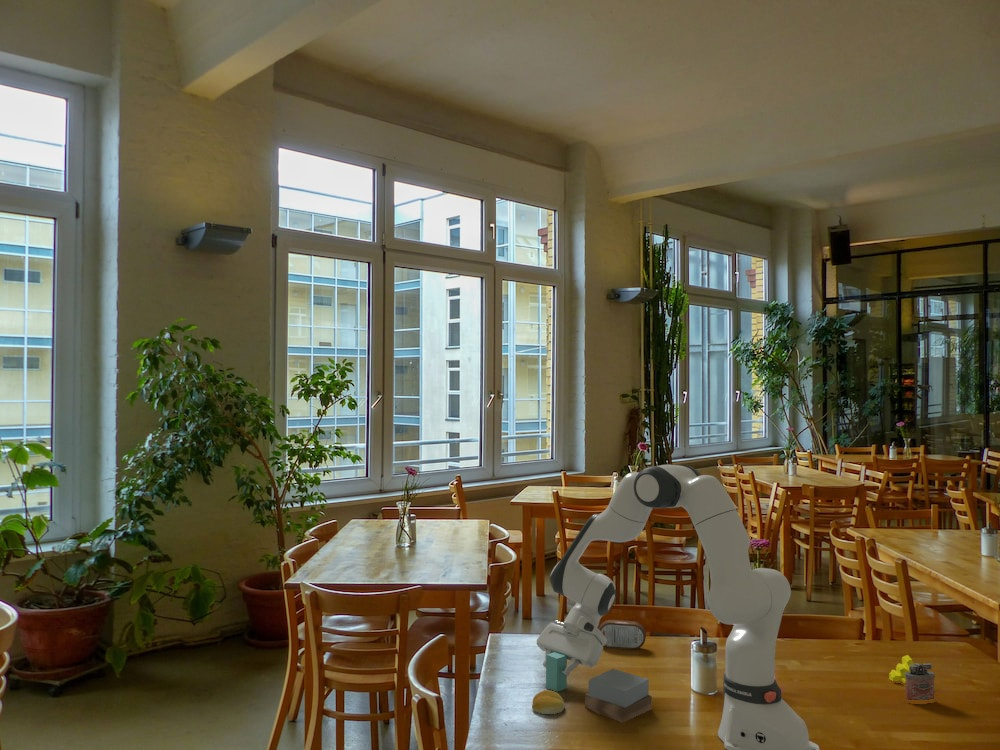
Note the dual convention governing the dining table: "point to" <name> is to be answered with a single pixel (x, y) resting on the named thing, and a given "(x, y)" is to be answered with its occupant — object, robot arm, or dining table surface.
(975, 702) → the dining table surface
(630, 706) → the tower base
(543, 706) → the bread roll
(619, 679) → the tower top
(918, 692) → the lighter
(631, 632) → the tin
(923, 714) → the dining table surface
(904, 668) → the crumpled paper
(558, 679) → the pillar block
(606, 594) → the robot arm
